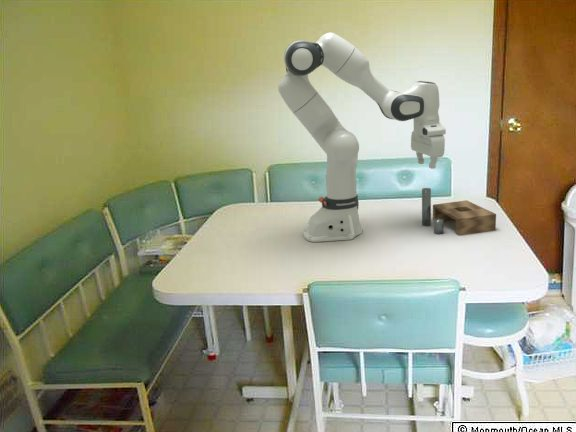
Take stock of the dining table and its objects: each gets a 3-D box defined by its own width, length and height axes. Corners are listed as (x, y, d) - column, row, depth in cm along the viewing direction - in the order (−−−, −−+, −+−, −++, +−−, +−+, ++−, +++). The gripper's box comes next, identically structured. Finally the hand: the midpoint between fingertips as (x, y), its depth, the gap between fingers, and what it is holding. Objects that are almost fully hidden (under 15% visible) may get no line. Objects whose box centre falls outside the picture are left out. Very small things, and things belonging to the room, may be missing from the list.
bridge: (458, 235, 170) (458, 219, 168) (432, 219, 189) (432, 204, 187) (495, 230, 172) (496, 214, 170) (466, 214, 191) (466, 200, 189)
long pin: (424, 226, 182) (424, 190, 178) (420, 224, 185) (420, 188, 181) (432, 225, 182) (432, 189, 178) (428, 223, 185) (428, 187, 181)
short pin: (436, 235, 172) (436, 221, 171) (432, 232, 175) (432, 219, 174) (444, 233, 173) (445, 220, 171) (440, 231, 176) (440, 217, 174)
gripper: (406, 125, 182) (406, 162, 186) (430, 131, 163) (430, 172, 167) (422, 124, 183) (422, 160, 187) (448, 129, 164) (447, 169, 168)
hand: (426, 165), depth 177 cm, fingers open, 8 cm apart
